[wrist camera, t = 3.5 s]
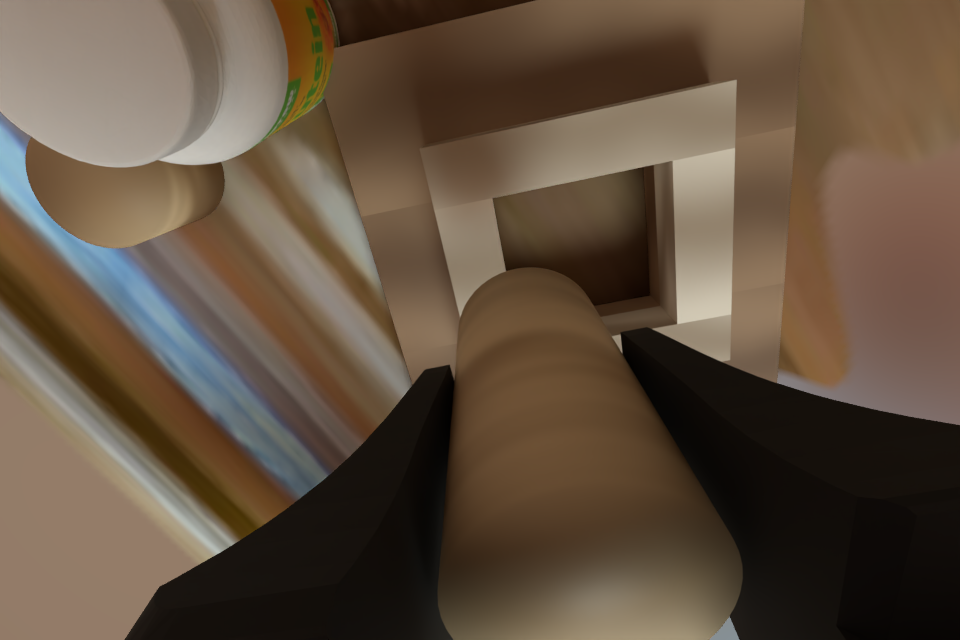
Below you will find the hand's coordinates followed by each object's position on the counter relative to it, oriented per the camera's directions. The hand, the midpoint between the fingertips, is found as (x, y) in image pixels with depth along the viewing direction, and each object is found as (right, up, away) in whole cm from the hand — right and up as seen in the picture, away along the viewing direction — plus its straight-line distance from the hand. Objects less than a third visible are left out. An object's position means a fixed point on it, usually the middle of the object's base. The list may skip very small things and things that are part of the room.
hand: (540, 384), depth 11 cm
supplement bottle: (-9, +12, +5) cm, 16 cm away
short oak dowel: (-13, +7, +7) cm, 17 cm away
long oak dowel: (0, +1, +2) cm, 3 cm away
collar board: (+3, +5, +8) cm, 10 cm away
